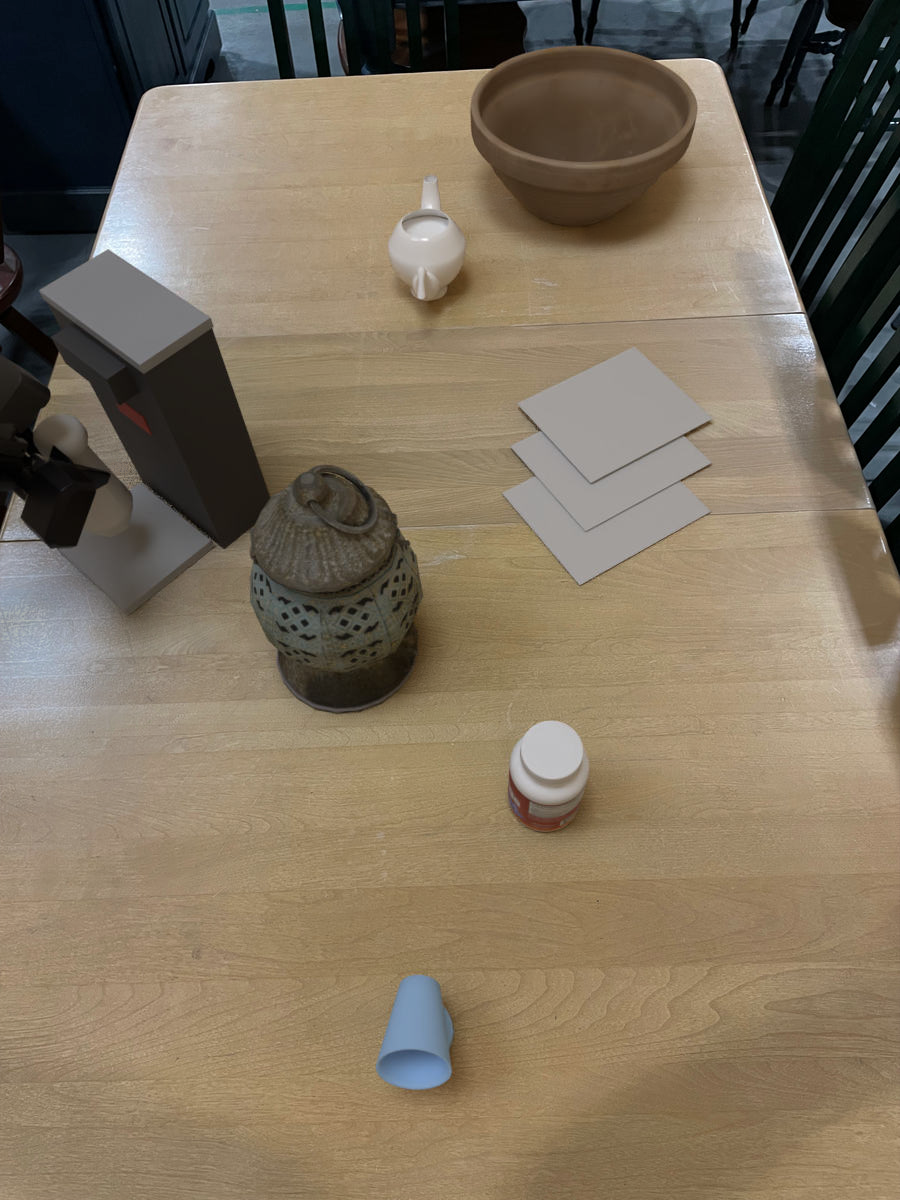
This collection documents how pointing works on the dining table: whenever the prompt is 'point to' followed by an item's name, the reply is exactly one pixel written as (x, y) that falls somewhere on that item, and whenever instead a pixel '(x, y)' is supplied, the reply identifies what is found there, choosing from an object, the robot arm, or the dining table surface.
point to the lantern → (335, 591)
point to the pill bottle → (547, 776)
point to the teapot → (427, 246)
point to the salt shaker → (72, 440)
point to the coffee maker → (157, 425)
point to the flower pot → (581, 129)
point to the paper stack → (609, 464)
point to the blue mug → (417, 1037)
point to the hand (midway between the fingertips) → (97, 468)
